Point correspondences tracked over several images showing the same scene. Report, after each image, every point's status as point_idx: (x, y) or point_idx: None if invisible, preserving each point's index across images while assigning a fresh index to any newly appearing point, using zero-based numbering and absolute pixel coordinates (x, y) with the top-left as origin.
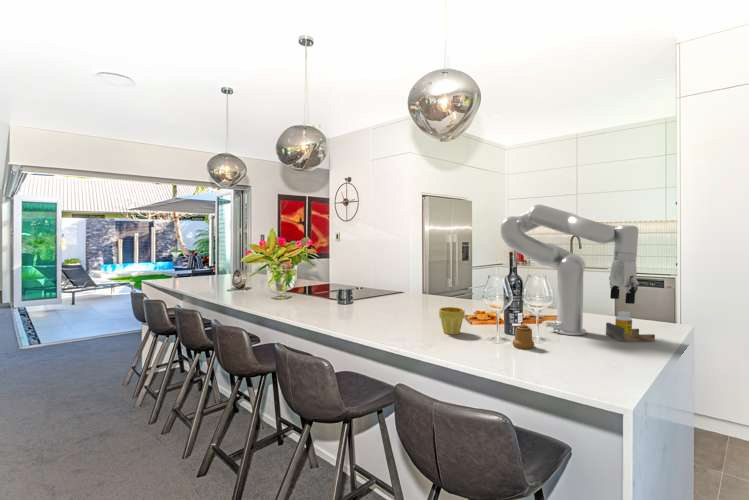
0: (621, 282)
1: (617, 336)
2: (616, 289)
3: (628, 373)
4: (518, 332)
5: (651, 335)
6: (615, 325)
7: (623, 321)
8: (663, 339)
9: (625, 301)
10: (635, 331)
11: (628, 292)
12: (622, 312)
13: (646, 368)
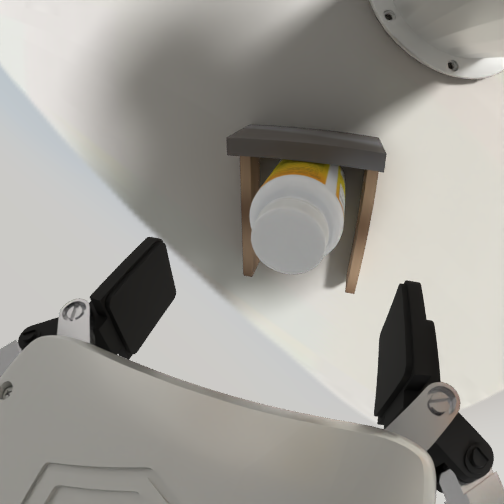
0: (35, 383)
1: (273, 129)
2: (386, 401)
3: (6, 26)
4: None
5: (243, 262)
6: (304, 155)
7: (260, 188)
8: (278, 305)
9: (150, 244)
10: (348, 272)
11: (82, 308)
12: (279, 227)
13: (22, 68)
